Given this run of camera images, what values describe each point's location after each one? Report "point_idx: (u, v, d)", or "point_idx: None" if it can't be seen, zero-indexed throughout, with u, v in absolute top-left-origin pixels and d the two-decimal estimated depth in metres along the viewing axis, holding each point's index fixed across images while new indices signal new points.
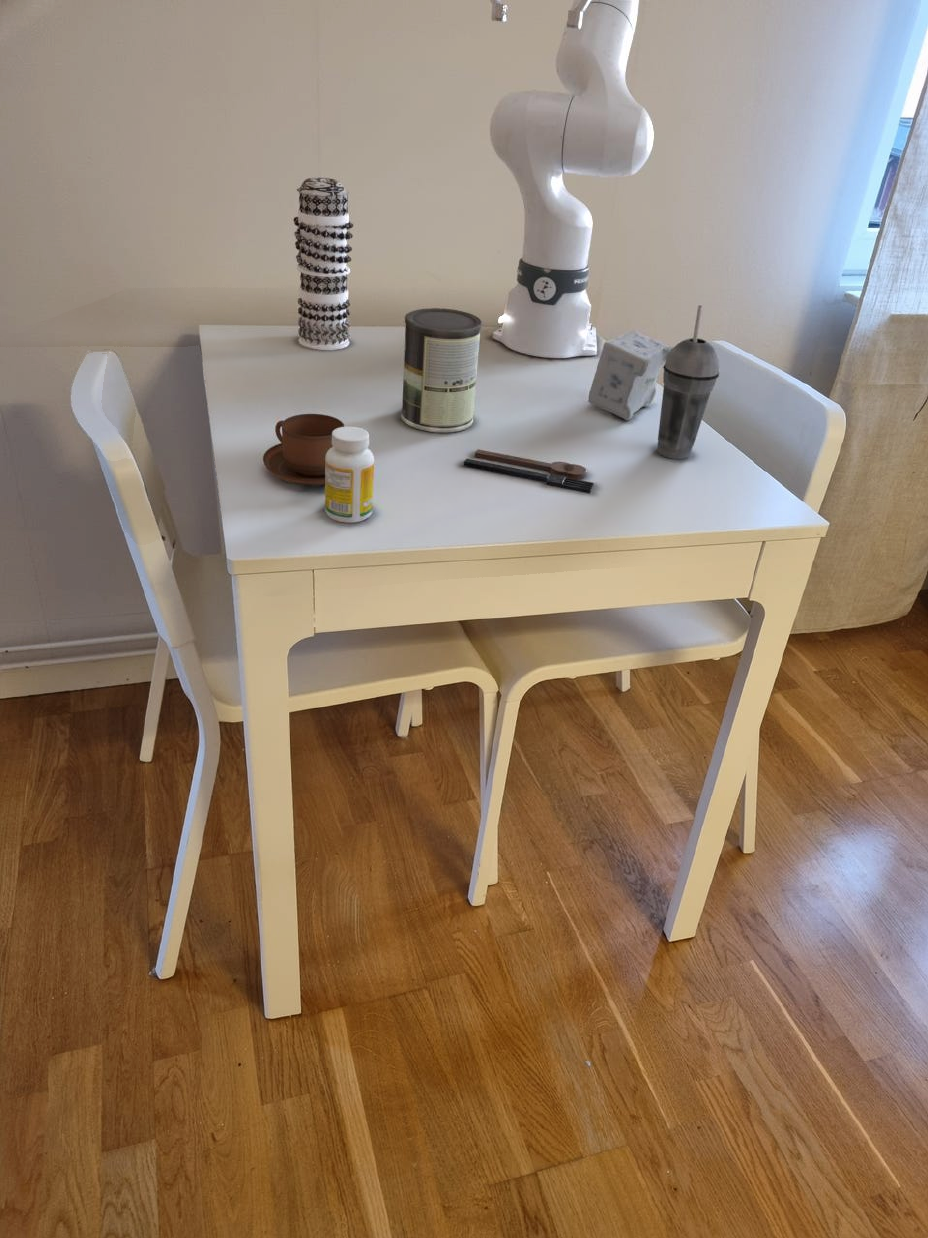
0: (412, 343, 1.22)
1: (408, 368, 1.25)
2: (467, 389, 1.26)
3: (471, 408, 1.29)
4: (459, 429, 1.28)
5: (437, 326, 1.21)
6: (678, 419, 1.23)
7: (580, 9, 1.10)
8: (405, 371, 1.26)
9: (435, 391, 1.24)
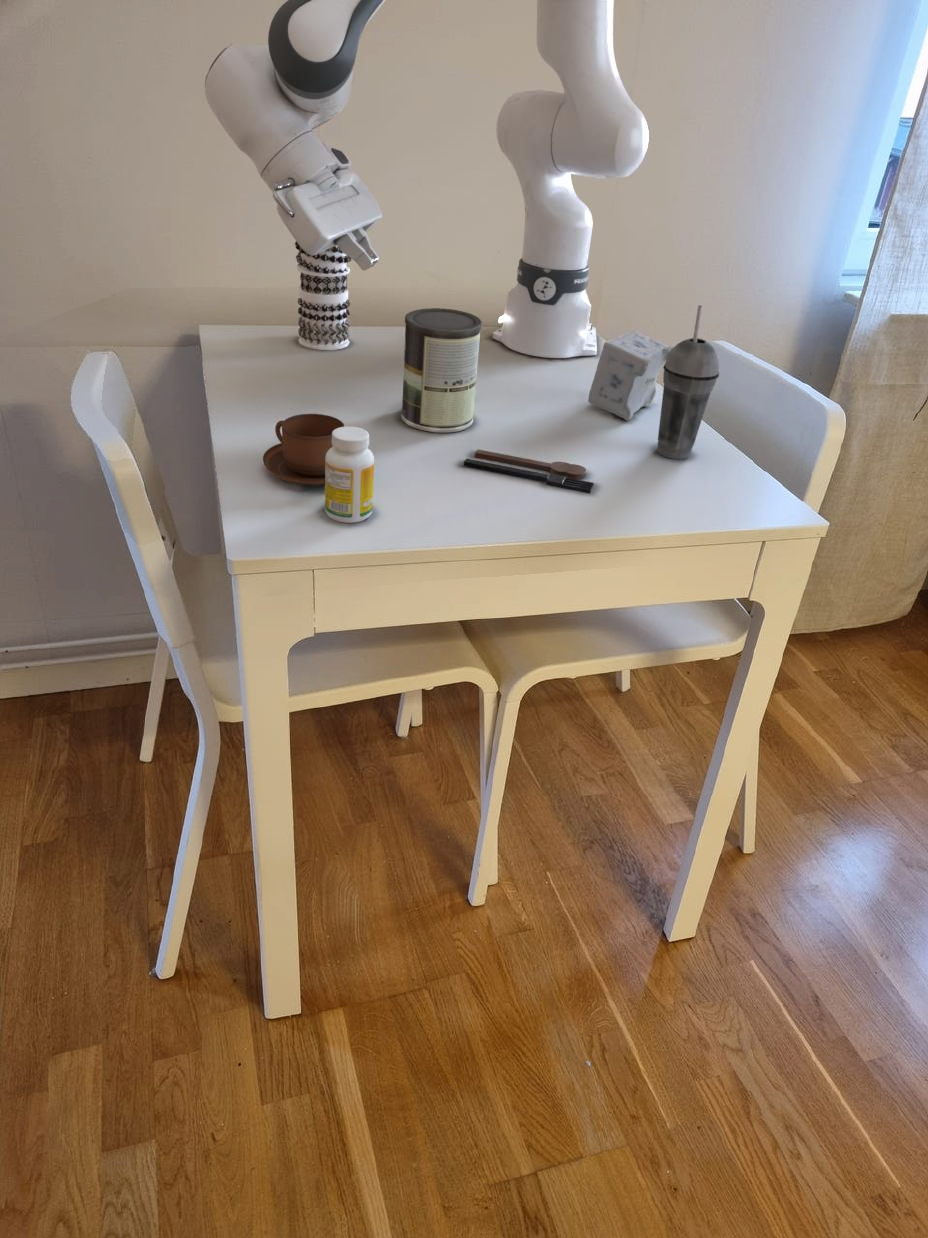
0: (412, 343, 1.22)
1: (408, 368, 1.25)
2: (467, 389, 1.26)
3: (471, 408, 1.29)
4: (459, 429, 1.28)
5: (437, 326, 1.21)
6: (678, 419, 1.23)
7: (353, 259, 1.22)
8: (405, 371, 1.26)
9: (435, 391, 1.24)
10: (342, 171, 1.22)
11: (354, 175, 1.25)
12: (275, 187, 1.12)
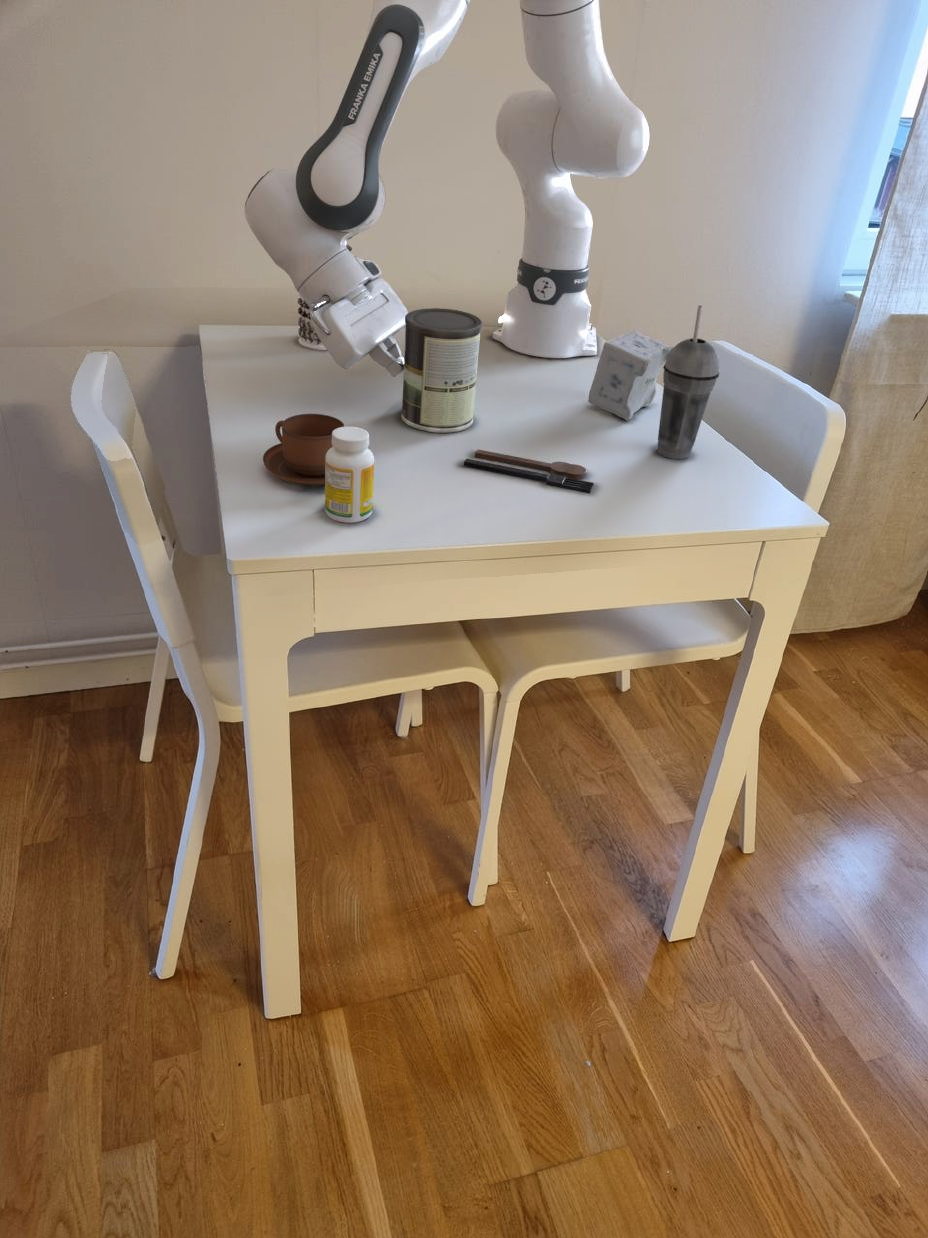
0: (412, 343, 1.22)
1: (408, 368, 1.25)
2: (468, 389, 1.26)
3: (471, 408, 1.29)
4: (459, 429, 1.28)
5: (437, 326, 1.21)
6: (678, 419, 1.23)
7: None
8: (405, 371, 1.26)
9: (435, 391, 1.24)
10: (373, 282, 1.29)
11: (384, 283, 1.32)
12: (312, 307, 1.19)
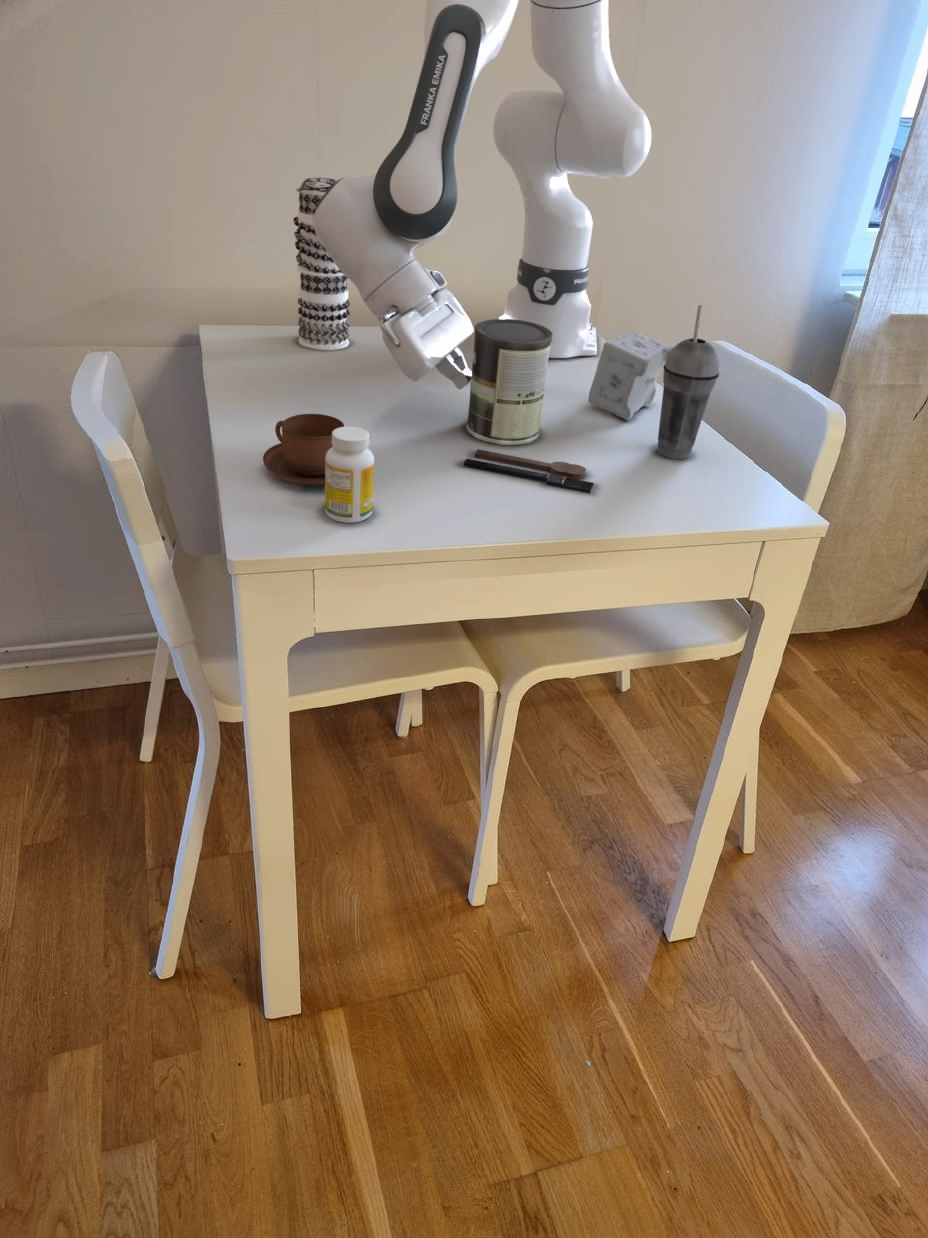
0: (485, 355, 1.20)
1: (479, 381, 1.23)
2: (538, 400, 1.25)
3: (539, 419, 1.27)
4: (529, 441, 1.27)
5: (511, 338, 1.20)
6: (678, 419, 1.23)
7: (450, 379, 1.26)
8: (474, 384, 1.24)
9: (508, 404, 1.22)
10: (440, 293, 1.27)
11: (449, 294, 1.30)
12: (382, 318, 1.17)
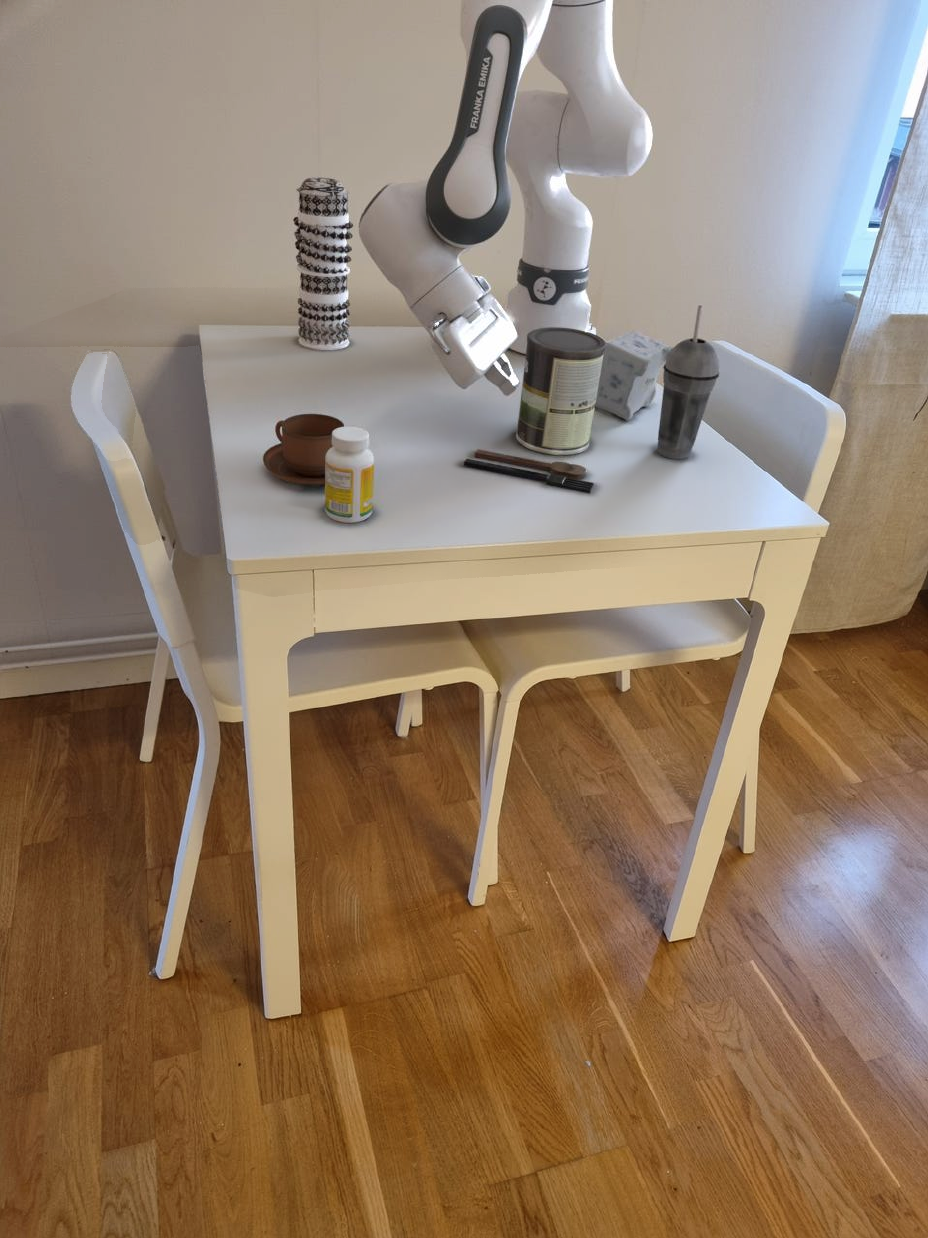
0: (539, 365, 1.19)
1: (532, 390, 1.21)
2: (591, 410, 1.23)
3: (590, 428, 1.26)
4: (580, 450, 1.25)
5: (565, 347, 1.18)
6: (678, 419, 1.23)
7: (497, 385, 1.25)
8: (526, 393, 1.23)
9: (561, 413, 1.21)
10: (485, 299, 1.25)
11: (493, 299, 1.28)
12: (432, 326, 1.15)
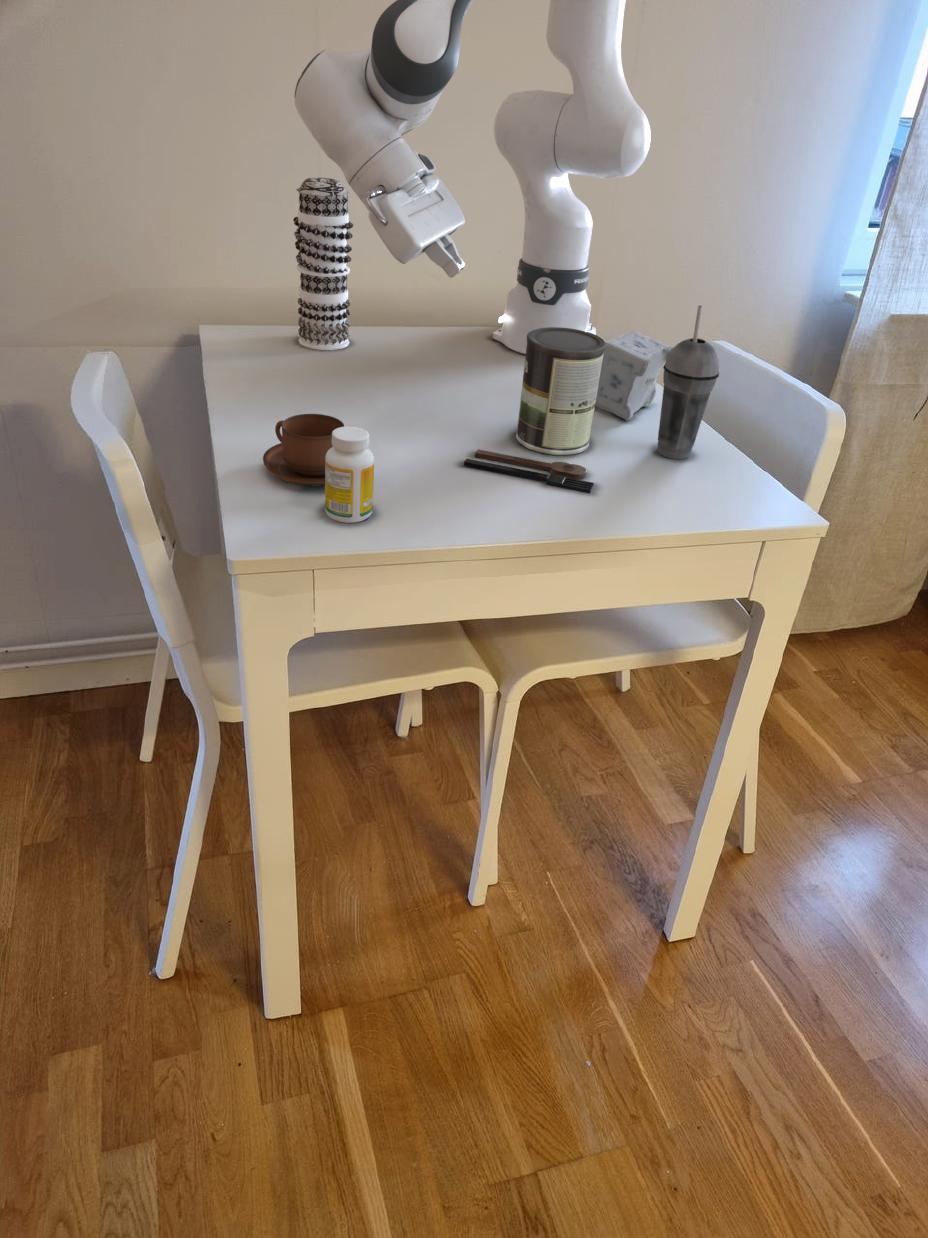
0: (538, 365, 1.19)
1: (531, 390, 1.21)
2: (590, 410, 1.23)
3: (590, 428, 1.26)
4: (580, 450, 1.25)
5: (564, 347, 1.18)
6: (678, 419, 1.23)
7: (441, 266, 1.21)
8: (526, 393, 1.23)
9: (561, 413, 1.21)
10: (428, 177, 1.21)
11: (438, 181, 1.24)
12: (368, 195, 1.11)
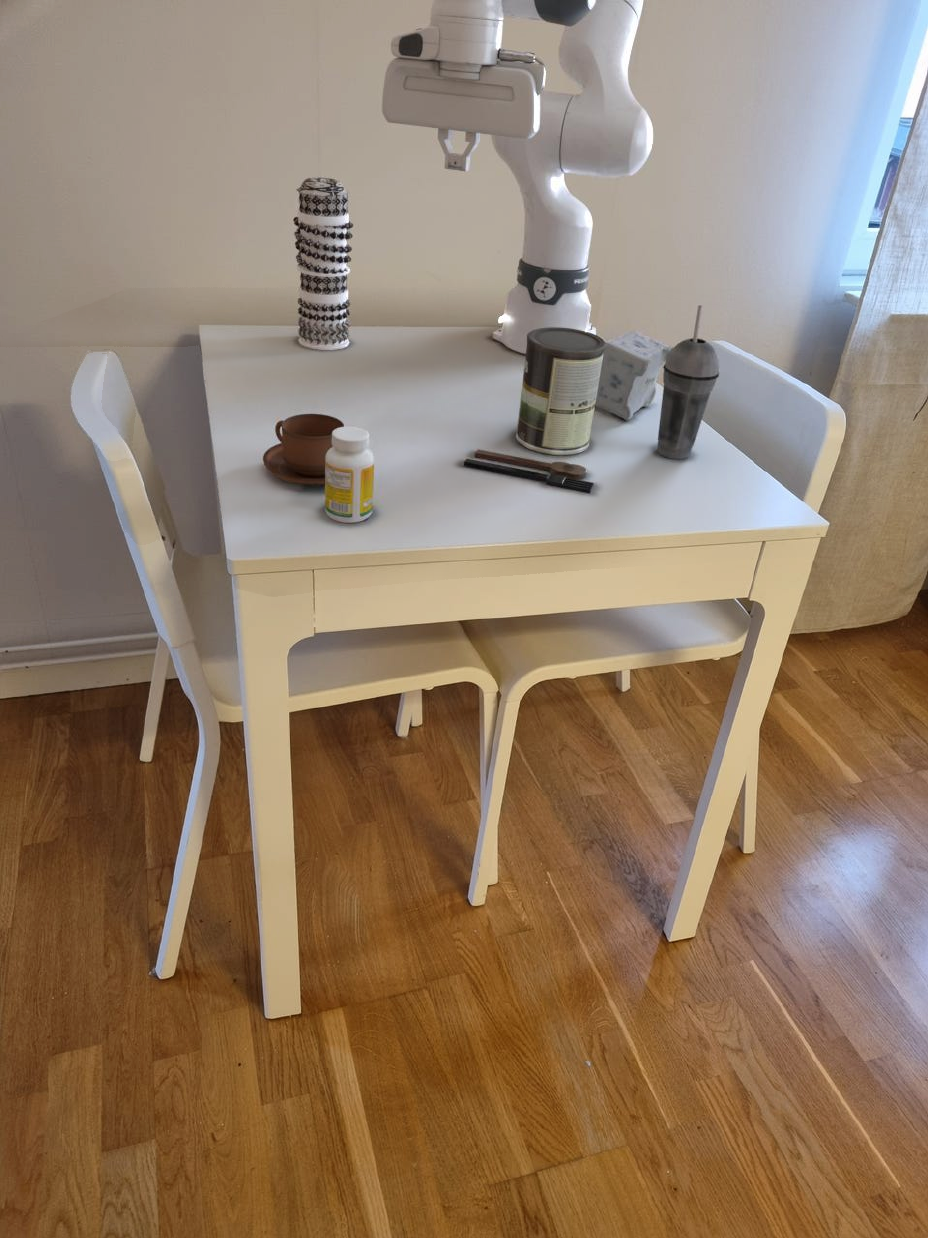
0: (538, 365, 1.19)
1: (531, 390, 1.21)
2: (590, 410, 1.23)
3: (590, 428, 1.26)
4: (580, 450, 1.25)
5: (564, 347, 1.18)
6: (678, 419, 1.23)
7: (466, 155, 1.19)
8: (526, 393, 1.23)
9: (561, 413, 1.21)
10: None
11: None
12: None
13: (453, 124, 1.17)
